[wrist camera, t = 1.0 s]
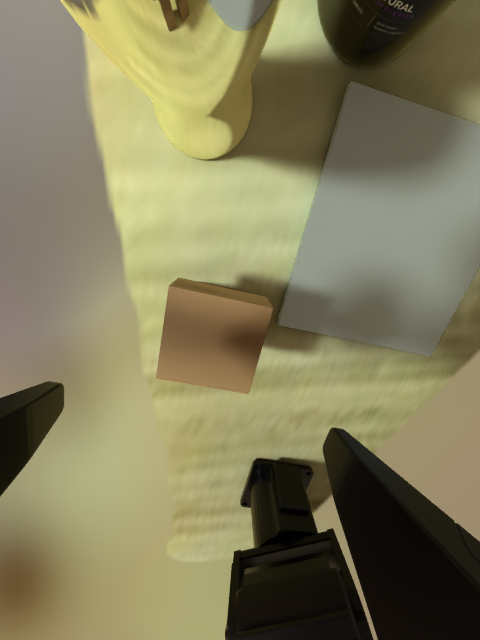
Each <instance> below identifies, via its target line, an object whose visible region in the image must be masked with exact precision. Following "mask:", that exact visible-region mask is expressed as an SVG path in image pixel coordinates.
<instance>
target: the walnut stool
mask: <svg viewBox="0 0 480 640" xmlns="http://www.w3.org/2000/svg"><path fill="white" fill-rule="evenodd" d="M272 311H273V307H272V305H271V304H270V302H269V300H268V299H267V297H264V296H260V295H255V294H251V293H247V292H243V291H238V290H234V289H228V288H223V287H219V286H215V285H211V284H206V283H202V282H196V281H191V280H187V279H182V278H178V279H177V280H175V281H174V282H173V283H172V284H171V285H169V289H168V296H167V303H166V311H165V318H164V325H163V332H162V339H161V347H160V354H159V361H158V368H157V375H156V378H158V379H163V380H169V381H175V382H181V383H187V384H193V385H199V386H205V387H211V388H217V389H222V390H228V391H234V392H240V393H246V394H249V391H250V388H251V384H252V381H253V377H254V374H255V370H256V367H257V363H258V360H259V356H260V353H261V349H262V346H263V342H264V339H265V335H266V332H267V328H268V325H269V322H270V318H271V315H272Z"/></svg>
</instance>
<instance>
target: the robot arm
mask: <svg viewBox="0 0 480 640" xmlns="http://www.w3.org/2000/svg"><path fill="white" fill-rule="evenodd" d="M63 407H64V386H63V384H62V383H57V382H50V381H49V382H45V383H42V384H39V385H36V386H33V387H30V388H28V389H25V390H22V391H19V392H16V393H13V394H10V395H7V396H5V397H2V398H0V496H1V495H2V494H3V492H4V491H5V490H6V489H7V488H8V486H9V485H10V484H11V483H12V481H13V480H14V479H15V477H16V476H17V475H18V474H19V473H20V471H21V470H22V469H23V468H24V466H25V465H26V464H27V463H28V461H29V460H30V458H31V457H32V456H33V454H34V453H35V451H36V450H37V448H38V447H39V445H40V444H41V442H42V441H43V439H44V438H45V436H46V435H47V433H48V432H49V430H50V429H51V427H52V426H53V424H54V423H55V422H56V420H57V419H58V417H59V415H60V414H61V412H62V410H63ZM323 454H324V459H325V463H326V468H327V472H328V477H329V481H330V486H331V490H332V494H333V498H334V502H335V505H336V509H337V511H338V515H339V518H340V521H341V524H342V528H343V531H344V534H345V537H346V540H347V543H348V546H349V550H350V553H351V556H352V559H353V562H354V565H355V568H356V571H357V575H358V578H359V581H360V584H361V587H362V591H363V594H364V597H365V600H366V603H367V607H368V610H369V613H370V616H371V619H372V622H373V625H374V629H375V632H376V635H377V638H378V640H480V542H479V541H478V540H477V539H476V538H474V537H473V536H472V535H471V534H470V533H468V532H467V531H466V530H465V529H464V528H462V527H461V526H460V525H459V524H457V523H455V522H454V520H453V519H451V518H450V517H449V516H448V515H447V514H445V513H444V512H443V511H442V510H441V509H439V508H438V507H437V506H436V505H434V504H433V503H432V502H431V501H430V500H428V499H427V498H426V497H425V496H424V495H422V494H421V493H420V492H419V491H418V490H416V489H415V488H414V487H413V486H412V485H410V484H409V483H408V482H407V481H405V480H404V479H403V478H402V477H400V476H399V475H398V474H397V473H396V472H395V471H393V470H392V469H391V468H390V467H389V466H387V465H386V464H385V463H384V462H382V461H381V460H380V459H379V458H378V457H376V456H375V455H374V454H373V453H372V452H370V451H369V450H368V449H367V448H366V447H364V446H363V445H362V444H361V443H360V442H358V441H357V440H356V439H355V438H354V437H352V436H351V435H350V434H349V433H348V432H346V431H345V430H344V429H340V428H331V429H330V431H329V433H328V435H327V438H326V440H325V442H324V445H323ZM312 476H313V471H312V468H311V467H308V466H300V465H293V464H286V463H278V462H271V461H264V460H255V461H253V463H252V466H251V469H250V472H249V475H248V478H247V481H246V484H245V487H244V490H243V493H242V496H241V500H240V502H241V506H242V507H249V508H251V515H252V527H253V539H254V548H252V549H248V550H243V551H241V550H237V551H234V558H233V563H232V569H231V582H230V594H229V607H228V618H227V625H226V630H225V639H226V640H373V637H372V634H371V631H370V628H369V625H368V622H367V618H366V615H365V612H364V609H363V606H362V604H361V601H360V598H359V595H358V592H357V590H356V587H355V584H354V581H353V579H352V576H351V574H350V571H349V568H348V566H347V563H346V561H345V558H344V555H343V553H342V550H341V548H340V545H339V543H338V540H337V538H336V535H335V532H334V530H333V528H332V529H328V530H327V531H325V532H321V533H318V531H317V528H316V524H315V521H314V518H313V514H312V511H311V506H310V503H309V499H308V496H307V493H306V489H307V487H308V485H309V482H310V480H311V478H312Z"/></svg>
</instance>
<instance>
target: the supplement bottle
mask: <svg viewBox="0 0 480 640" xmlns="http://www.w3.org/2000/svg"><path fill="white" fill-rule="evenodd" d="M455 1H456V0H317V2H318V12H319V18H320V22H321V26H322V29H323V32H324V35H325V37H326V39H327V41H328V43H329V45H330V46H331V48H332V49H333V50H334V52H335V53H336V54H337V55H338V56H339V57H340V58H342V59H343V60H344V61H346V62H347V63H349V64H352V65H354V66H358V67H367V68H369V67H376V66H380V65H383V64H386V63H388V62H390V61H392V60H393V59H395V58H397V57H398V56H399V55H401V54H402V53H403V52H404V51H405V50H406V49H408V48H409V47H410V46H411V45H412V44H413V43H414V42H415V41H416V40H417V39H418V38H419V37H420V36H421V35H422V34H423V33H424V32H425V31H426V30H427V29H428V28H429V27H430V26H431V25H432V24H433V23H434V22H435V21H436V20H437V19H438V18H439V17H440V16H441V15H442V14H443V13H444V12H445V11H446V10H447V9H448V8H449V7H450V6H451V5H452V4H453V3H454V2H455Z"/></svg>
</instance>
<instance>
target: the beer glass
mask: <svg viewBox="0 0 480 640" xmlns="http://www.w3.org/2000/svg"><path fill="white" fill-rule="evenodd" d="M60 1H61V2H62V4H63V5H64V6H65V7H66V9H67V10H68V11H69V13H70V14H71V15H72V17H73V18H74V19H75V21H76V22H77V23H78V24H79V26H80V27H81V28H82V29H83V30H84V31H85V33H86V34H87V35H88V36H89V37H90V38H91V39H92V40H93V41H94V42H95V44H96V45H97V46H98V47H99V48H100V49H101V50H102V51H103V52H104V53H105V54H106V56H107V57H108V58H109V59H110V60H111V61H112V62H113V63H114V64H115V65H116V66H117V67H118V68H119V69H120V70H121V71H122V72H123V73H124V74H125V75H126V76H127V77H128V78H129V79H130V80H131V81H132V82H133V83H135V84H136V85H137V86H138V87H139V88H140V89H141V90H142V91H143V92H144V93H145V94H146V95H147V96H149V97H150V98H151V99H152V102H153V107H154V111H155V114H156V117H157V120H158V123H159V125H160V127H161V129H162V131H163V133H164V134H165V136H166V137H167V139H168V140H169V141H170V142H171V143H172V144H173V145H174V146H175V147H176V148H177V149H178V150H180V151H181V152H183V153H184V154H186V155H188V156H191V157H194V158H198V159H214V158H218V157H221V156H223V155H225V154H227V153H228V152H230V151H231V150H232V149H233V148H235V147H236V146H237V144H238V143H239V142H240V141H241V139H242V138H243V136H244V134H245V132H246V130H247V128H248V125H249V122H250V118H251V113H252V103H253V96H252V86H251V79H250V77H251V75H252V73H253V70H254V68H255V66H256V64H257V62H258V60H259V58H260V55H261V53H262V51H263V49H264V46H265V44H266V42H267V40H268V37H269V35H270V33H271V30H272V28H273V25H274V22H275V20H276V17H277V14H278V11H279V9H280V6H281V3H282V1H283V0H60Z"/></svg>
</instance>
